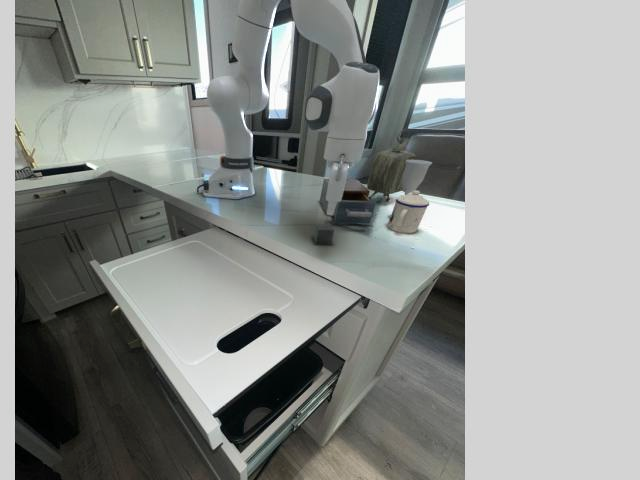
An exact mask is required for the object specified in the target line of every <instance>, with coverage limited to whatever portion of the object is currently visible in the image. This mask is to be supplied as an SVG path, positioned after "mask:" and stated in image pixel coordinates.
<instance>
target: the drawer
mask: <svg viewBox="0 0 640 480" xmlns="http://www.w3.org/2000/svg"><path fill="white" fill-rule="evenodd" d="M368 197H369V196H368ZM368 197H367V196H366V195H365V194H364V193H343V196H342V199H341V201H340V202H337V204H336V207H335V210H334V214H333V215H332V216H333V217H334V219H333V222H334V223H349V224H371V220H372V218H373V214H374V211H375V208H376V205H377V201H376V200H372V199H371V200H370V199H369V198H368Z"/></svg>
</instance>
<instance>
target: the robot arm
mask: <svg viewBox="0 0 640 480" xmlns="http://www.w3.org/2000/svg"><path fill="white" fill-rule="evenodd" d="M281 1H282V0H239V3H238V7H237V12H236V13H237V14H236V19H235V25H234V31H233V38H232V43H231V50H232V54H233V56H234V57H235V58H236V60H237V63H238V74H237V75H221V76H217V77H214V78H213V79H211V80H210V82H209V83H208V86H207V91H206V100H207V104H208V106H209V108H210V110H211V111H212V112H213V113H214V114H215V115H216V117H217V119H218V121H219V123H220V125H221V128H222V132H223V133H222V134H223V141H224V155H221V156H220V158H219V165H220V166H219V167H218V168H217V169H216V170H215V171H214V172H213V173H212V174H210V176H209V177H208V179H205V180H202V181H203V182H202V184H199V185H198V186H197V188H196V193H197V194H199V193H200V192H199V191H200V188H202V187H203V190H202V195H203V196H204V197H207V198H218V199H231V200H240V199H241V200H242V199H243V198H247V197H252V196H253V195H255V194H256V190H255V188H254V179H253V171H254V156H253V150H254V149H253V147H254V134H253V132H252V130H250V129H249V128H248V127H247V125H246V122H245V115H246V116H247V115H254V114H257V113H260V112H262V111H264V110H265V108H266V107H267V105H268V103H269V97H270V93H269V88H268V85H267V83H266V80H265V63H266V61H265V60H266V55H267V51H268V45H269V42H270V39H271V38H270V37H271V33H272V28H273V26H274V22H275V21H274V20H275V16H276V11H277V8H278V6H279V3H280V2H281ZM286 2H287V4H289V5H290V8H291V15H292V19H293V22H294V25H295V28H296V29H297V31H298V33H299V34H300V35H301V36H302V37H303V38H305V39H306V40H308V41H310V42H312V43H315V44H316V45H319V46H321V47H322V48H324V49H326V50H327V51H328V52H330V53H331V54H332V55H333V56H334V57H335V60H336V61H337V65H338V68H339V71H338V73H337V74H336V75H335V76H333V77H332V78H331V79H329V80H328V81H326V82H324V83H322V84H320V85H317V86H315V87H314V88H313V90H311V92H310V93H309V95H308V97H307V99H306V102H305V106H304V120H305V123H306V125H307V127H308V128H309V129H310V130H311V131H313V132H318V133H319V132H321V133H322V132H323V133H324V132H325V133H326V132H327V136H326V139H325V140H326V141H325V146H324V153H323V156H322V157H323V159H324V160H325V161H327V164H326V166H327V168H330V174H329V178H328V179H329V184H328V188H327V193H326V200H327V201H328V208H327V214H326V215H327V216H334V215H333V214H334V210H335V207H336V204H337V202H340V201H341V199H342V196H343V192H344V187H345V183H346V179H347V178H348V174H349V170H351V169H353V168H354V166H355V163H358V162H361V160H362V157H363V152H364V149H365V145H366V141H367V136H368V127H369V125H370V123H371V122H372V120H373V119H374V117H375V115H376V113H377V110H378V106H379V98H378V97H379V96H378V92H379V87H380V77H381V76H380V75H381V74H380V69H379V67H377V66H376V65H374V64H371V63H367V58H366V55H365V49H364V46H363V41H362V38H361V32H360V29H359V25H358V22H357V20H356V18H355V15H354V14H353V12H352V10H351V8H350V7H349V5H348V1H347V0H286Z"/></svg>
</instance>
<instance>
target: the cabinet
mask: <svg viewBox="0 0 640 480" xmlns="http://www.w3.org/2000/svg"><path fill="white" fill-rule="evenodd" d="M329 179H330V178H323V181H322V185H321V186H322V187H321V190H320V191H321V192H320V197H319V202H320V205H321V206H322V208H323V210H324V212H325V214H326V215H327V208H328V201H327V200H326V193H327V188H328V184H329ZM343 193H364V194H365V195H366V196H367V197H369V196H370V193H371V190H369V189H367V186H366V185H364V184H362V182H360V180H358V179H351V178H350V179H349V178H348V179H347V178H346V183H345V187H344V192H343Z"/></svg>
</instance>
